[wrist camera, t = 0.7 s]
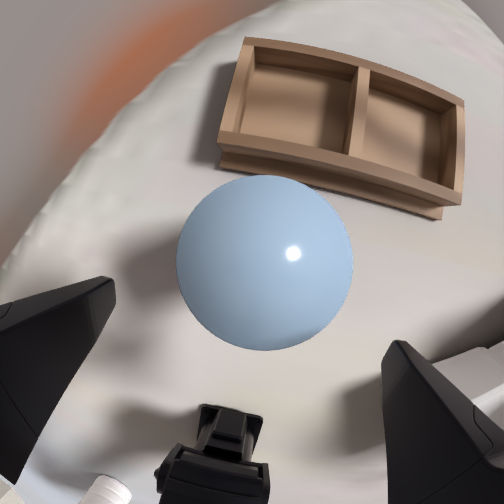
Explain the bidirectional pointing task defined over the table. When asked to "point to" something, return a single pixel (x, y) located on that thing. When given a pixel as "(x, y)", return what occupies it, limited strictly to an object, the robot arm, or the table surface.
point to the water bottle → (106, 492)
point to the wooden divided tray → (344, 126)
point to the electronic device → (479, 378)
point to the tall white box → (8, 495)
